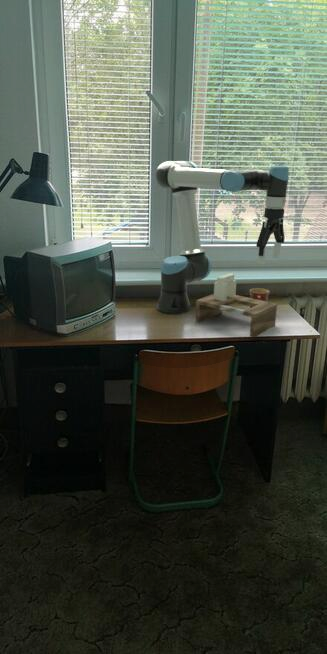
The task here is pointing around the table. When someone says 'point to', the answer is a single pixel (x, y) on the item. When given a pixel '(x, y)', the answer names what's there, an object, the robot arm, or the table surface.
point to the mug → (259, 294)
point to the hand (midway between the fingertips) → (268, 261)
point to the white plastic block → (225, 287)
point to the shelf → (239, 311)
